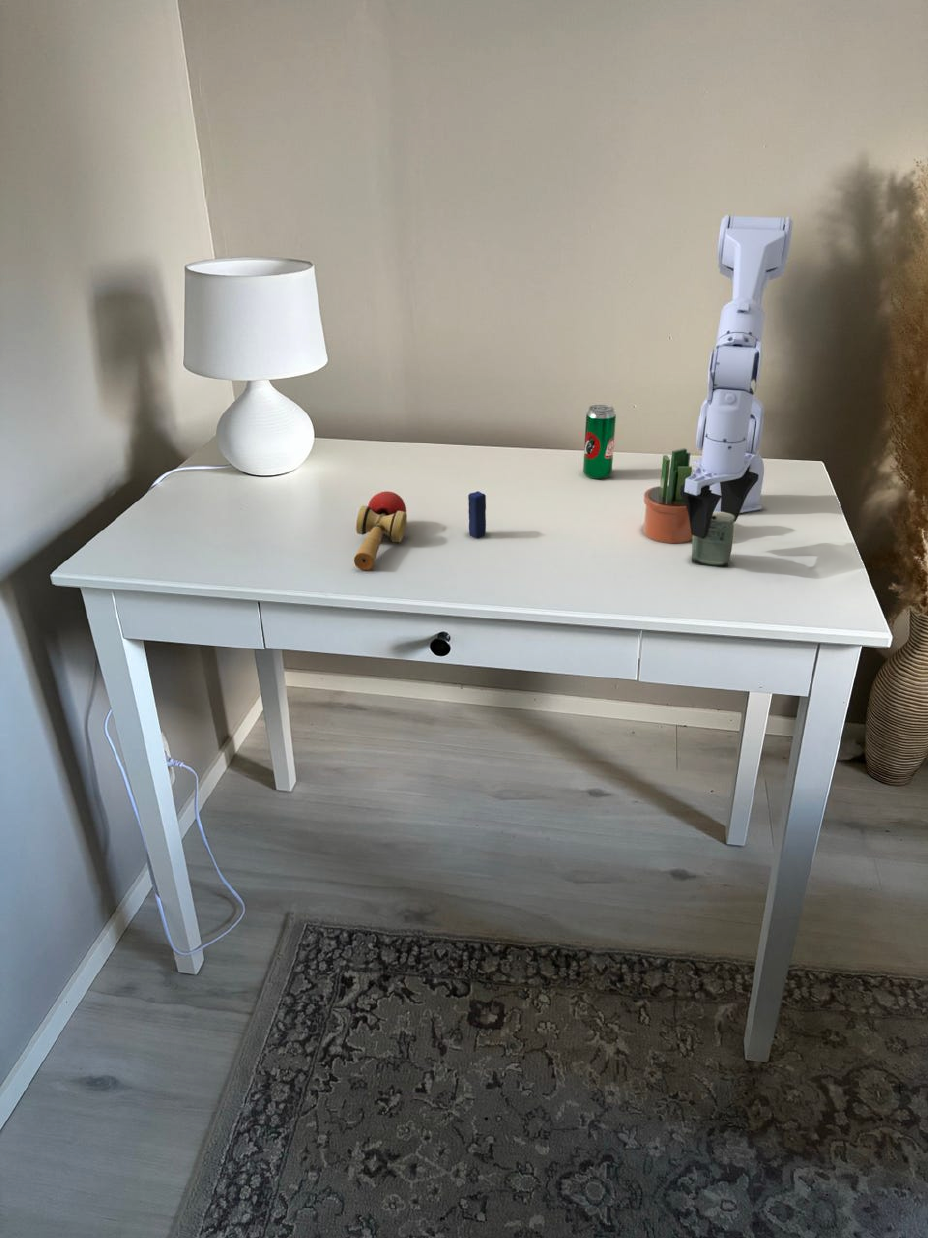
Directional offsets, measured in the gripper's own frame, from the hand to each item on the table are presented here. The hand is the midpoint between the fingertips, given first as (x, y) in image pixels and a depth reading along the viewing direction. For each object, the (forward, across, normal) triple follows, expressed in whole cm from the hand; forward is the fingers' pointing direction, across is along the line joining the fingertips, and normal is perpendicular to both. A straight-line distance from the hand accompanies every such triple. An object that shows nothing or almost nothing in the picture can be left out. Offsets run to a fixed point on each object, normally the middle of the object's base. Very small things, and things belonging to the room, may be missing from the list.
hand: (713, 527), depth 139 cm
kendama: (+6, +30, -38) cm, 49 cm away
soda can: (+6, -16, -34) cm, 37 cm away
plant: (+5, -4, -10) cm, 12 cm away
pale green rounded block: (+6, 0, 0) cm, 6 cm away
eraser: (+6, +17, -30) cm, 35 cm away
